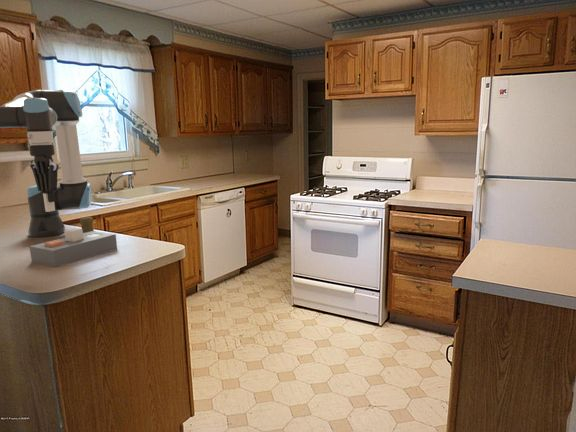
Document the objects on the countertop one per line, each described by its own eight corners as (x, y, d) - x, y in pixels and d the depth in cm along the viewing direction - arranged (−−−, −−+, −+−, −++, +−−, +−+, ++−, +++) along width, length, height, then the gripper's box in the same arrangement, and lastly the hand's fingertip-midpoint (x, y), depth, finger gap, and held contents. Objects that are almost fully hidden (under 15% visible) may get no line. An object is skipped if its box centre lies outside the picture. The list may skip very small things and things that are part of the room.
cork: (92, 239, 187) (89, 215, 185) (99, 241, 183) (96, 216, 181) (78, 242, 182) (75, 217, 180) (85, 245, 178) (82, 219, 176)
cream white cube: (65, 240, 162) (64, 230, 161) (76, 238, 165) (74, 227, 165) (72, 241, 159) (71, 231, 159) (83, 239, 163) (82, 228, 162)
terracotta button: (46, 253, 155) (44, 242, 155) (57, 250, 159) (56, 239, 158) (53, 254, 153) (51, 244, 152) (64, 251, 157) (63, 241, 156)
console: (31, 262, 156) (29, 246, 155) (94, 245, 178) (92, 230, 177) (55, 267, 149) (53, 250, 148) (117, 248, 171) (115, 234, 170)
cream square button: (85, 246, 169) (84, 236, 168) (95, 243, 173) (94, 233, 172) (93, 247, 167) (91, 237, 166) (102, 244, 171) (101, 234, 170)
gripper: (19, 144, 149) (29, 211, 154) (42, 144, 143) (51, 214, 147) (40, 143, 155) (49, 207, 160) (63, 143, 149) (71, 210, 154)
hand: (50, 210), depth 154 cm, fingers closed
